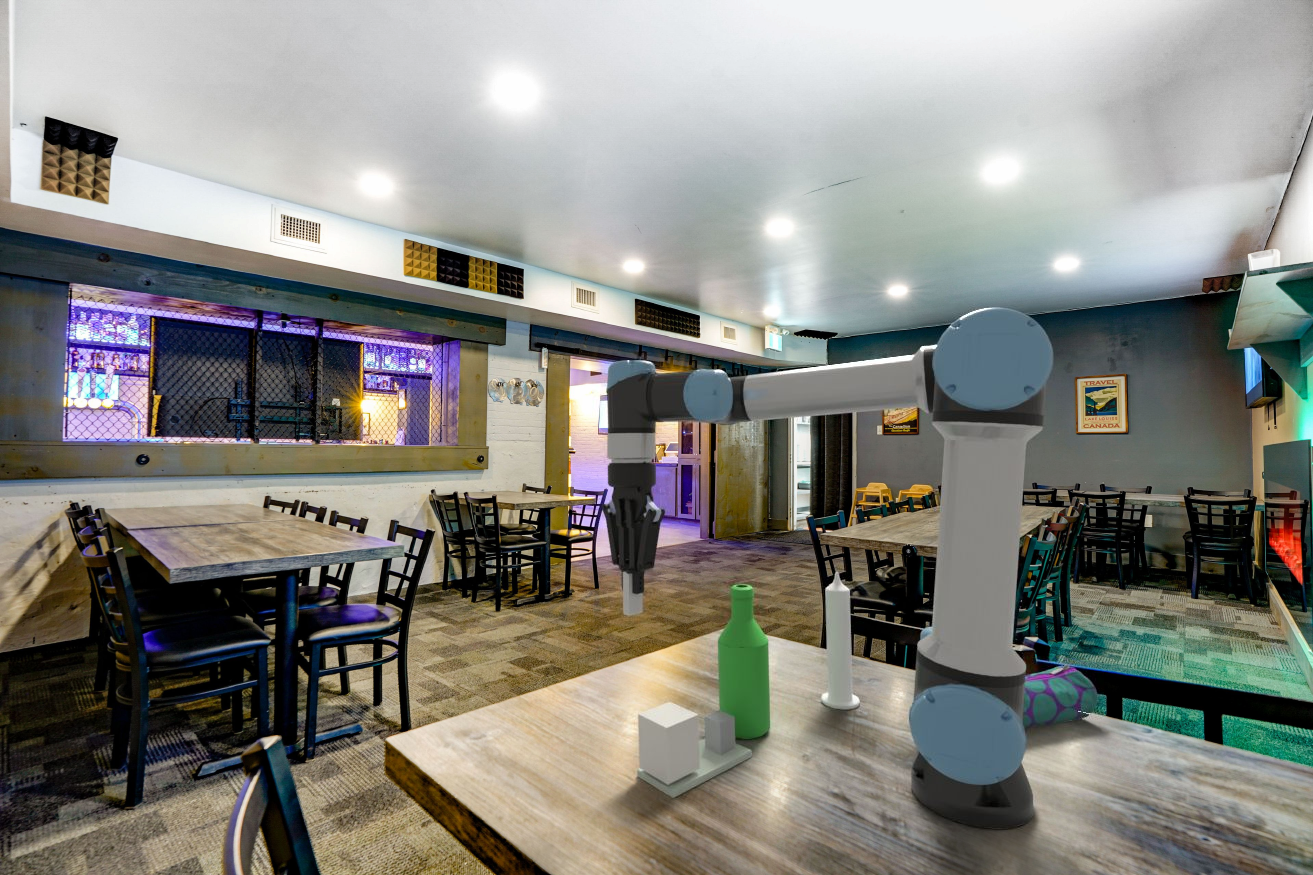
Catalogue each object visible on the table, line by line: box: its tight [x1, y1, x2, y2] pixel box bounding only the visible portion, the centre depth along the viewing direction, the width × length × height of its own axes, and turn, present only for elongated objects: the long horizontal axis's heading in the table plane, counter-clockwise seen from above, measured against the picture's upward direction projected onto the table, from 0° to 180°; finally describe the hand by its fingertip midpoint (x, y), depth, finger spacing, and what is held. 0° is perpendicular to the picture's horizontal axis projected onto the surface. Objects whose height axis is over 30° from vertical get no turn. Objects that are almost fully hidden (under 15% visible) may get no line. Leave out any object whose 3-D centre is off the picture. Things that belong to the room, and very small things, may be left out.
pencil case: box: [1023, 664, 1098, 729], centre depth 107 cm, size 21×9×10 cm, turn 107°
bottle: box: [717, 583, 771, 740], centre depth 107 cm, size 9×9×25 cm
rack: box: [636, 709, 753, 799], centre depth 95 cm, size 8×17×6 cm, turn 131°
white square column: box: [637, 701, 700, 785], centre depth 92 cm, size 6×6×8 cm
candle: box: [820, 571, 860, 711], centre depth 118 cm, size 7×7×25 cm
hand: (633, 613), depth 95 cm, fingers closed
